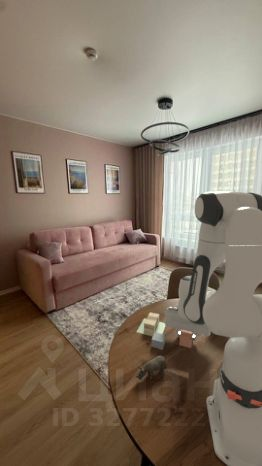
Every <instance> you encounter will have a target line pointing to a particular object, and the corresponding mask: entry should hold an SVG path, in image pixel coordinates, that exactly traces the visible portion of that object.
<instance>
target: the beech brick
mask: <svg viewBox="0 0 262 466" xmlns="http://www.w3.org/2000/svg"><path fill="white" fill-rule="evenodd" d="M145 319H146V321H145V322H144V333H147V334H151V335H154V333H155V332H156V329H157V327H158V325H159V322H160V314H159V313H156V312H153V311H150V312H149V313H148V314H147V317H146V318H145Z"/></svg>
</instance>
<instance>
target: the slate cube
mask: <svg viewBox="0 0 262 466" xmlns="http://www.w3.org/2000/svg"><path fill="white" fill-rule="evenodd" d="M151 337H152V338H151V348H155V349H158V350H161V351H163V350H164V348H165V345H166V334H164V333H163V334H160V333H156V332H155V333H154V335H153V336H151Z"/></svg>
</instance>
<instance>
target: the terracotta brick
mask: <svg viewBox="0 0 262 466" xmlns="http://www.w3.org/2000/svg"><path fill="white" fill-rule="evenodd" d="M180 332H181V334H180V337H179V346H182V347H184V348H188V349H189V348H190V349H192V343H193V335H194V334H193V333H194V332H189V331H185V330H181V329H180Z"/></svg>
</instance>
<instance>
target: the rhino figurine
mask: <svg viewBox="0 0 262 466" xmlns="http://www.w3.org/2000/svg"><path fill="white" fill-rule="evenodd" d="M166 363H167V361H166V359H165V356H162V355H157V356H155V357H154V358H153V359H150V360H148V361H147V362H146V363H144V365H142V366H140V365H137V367H138V369H140V371H139V373H138V375H135V378H137V379H138V380H139V381H142V379H143V378H144V377H145V376H146V375H147V373H148V374H149V379H150V380H152V379H153V378H154V373H155V372H156V371H159V370H160V369H161V370H160V374H165V367H166ZM153 380H154V379H153Z"/></svg>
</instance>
